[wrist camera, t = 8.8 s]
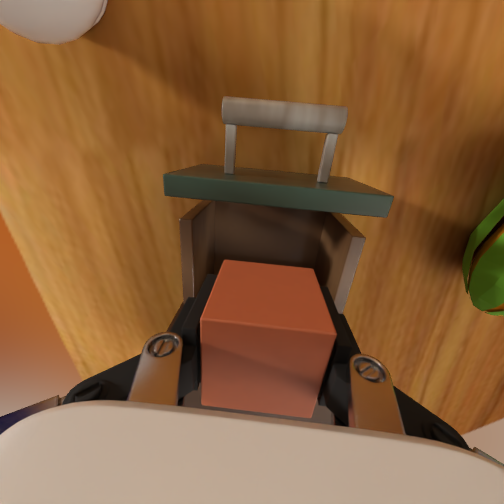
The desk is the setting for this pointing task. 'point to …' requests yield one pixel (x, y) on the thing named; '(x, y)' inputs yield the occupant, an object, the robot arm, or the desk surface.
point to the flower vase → (51, 18)
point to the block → (265, 339)
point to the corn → (486, 265)
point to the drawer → (274, 204)
